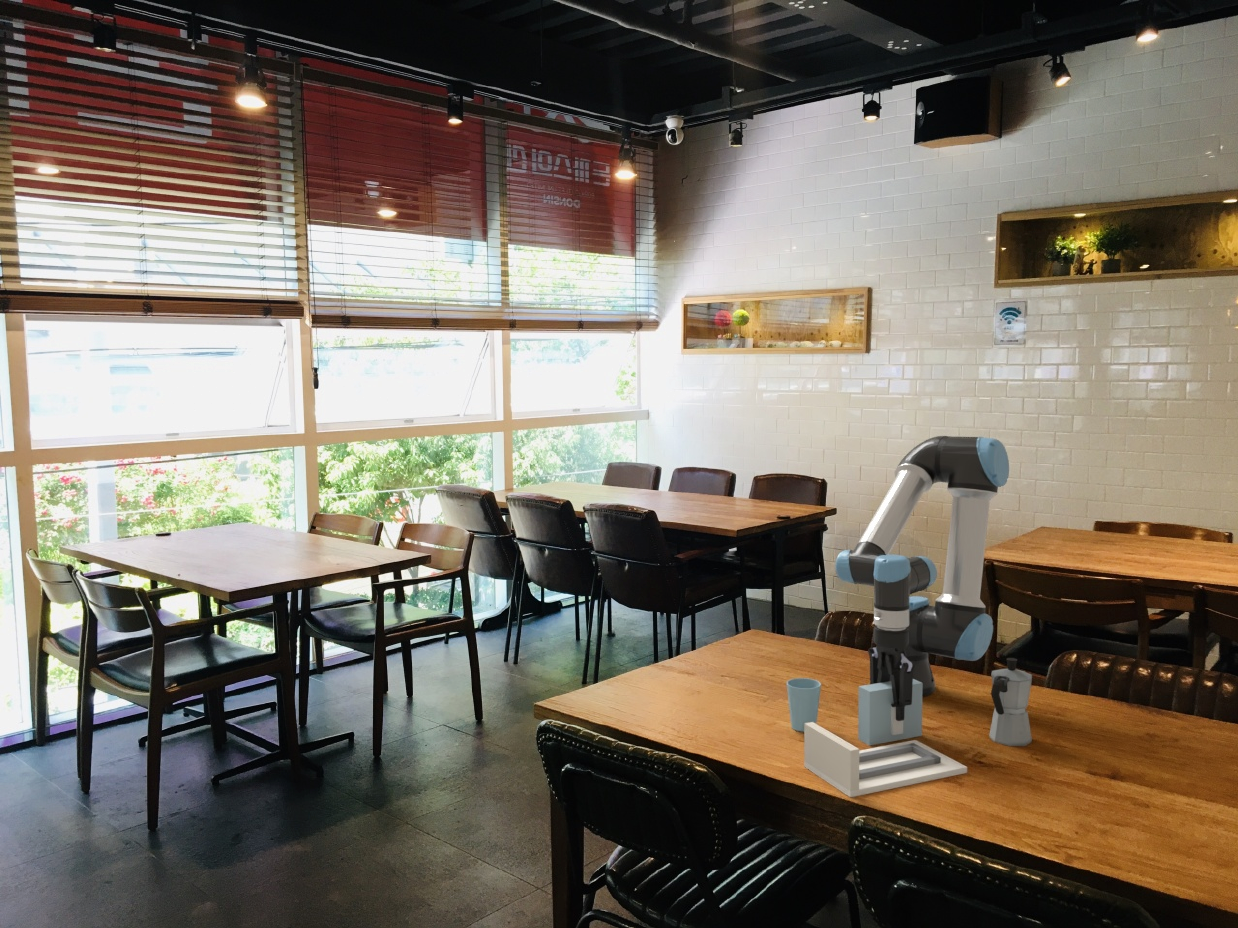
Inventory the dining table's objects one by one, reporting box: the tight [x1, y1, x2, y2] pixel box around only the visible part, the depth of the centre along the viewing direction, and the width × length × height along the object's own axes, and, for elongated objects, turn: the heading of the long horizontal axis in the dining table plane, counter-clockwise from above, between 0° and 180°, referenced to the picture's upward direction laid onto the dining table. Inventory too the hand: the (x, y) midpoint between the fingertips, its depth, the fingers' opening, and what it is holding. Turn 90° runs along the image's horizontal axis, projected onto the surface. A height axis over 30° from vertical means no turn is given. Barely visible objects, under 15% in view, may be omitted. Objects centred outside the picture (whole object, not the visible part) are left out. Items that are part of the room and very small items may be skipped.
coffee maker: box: [988, 657, 1033, 747], centre depth 216 cm, size 15×9×18 cm, turn 135°
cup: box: [786, 677, 822, 733], centre depth 226 cm, size 8×8×10 cm
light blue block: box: [857, 679, 923, 746], centre depth 219 cm, size 14×4×12 cm, turn 112°
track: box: [803, 722, 968, 798], centre depth 202 cm, size 28×16×9 cm, turn 112°
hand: (890, 729), depth 219 cm, fingers closed on light blue block, 4 cm apart
